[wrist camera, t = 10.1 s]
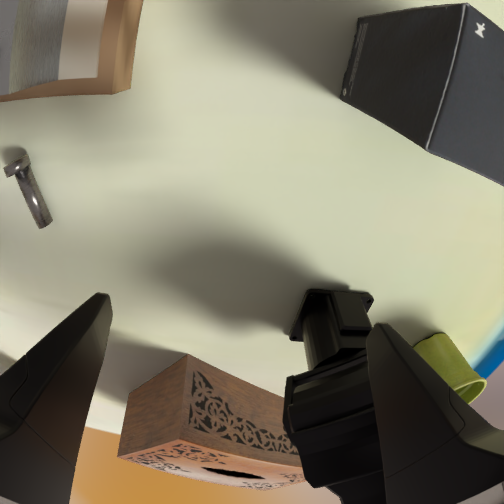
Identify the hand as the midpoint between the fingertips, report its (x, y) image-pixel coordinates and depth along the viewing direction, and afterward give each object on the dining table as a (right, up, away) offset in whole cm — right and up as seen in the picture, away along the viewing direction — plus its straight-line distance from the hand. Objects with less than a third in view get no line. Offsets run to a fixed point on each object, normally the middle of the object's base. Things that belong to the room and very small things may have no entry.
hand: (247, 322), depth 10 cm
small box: (+11, +13, +7) cm, 19 cm away
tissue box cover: (-2, -20, +30) cm, 36 cm away
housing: (-12, +15, 0) cm, 19 cm away
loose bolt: (-17, +7, +10) cm, 21 cm away
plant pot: (+22, -10, +23) cm, 34 cm away
